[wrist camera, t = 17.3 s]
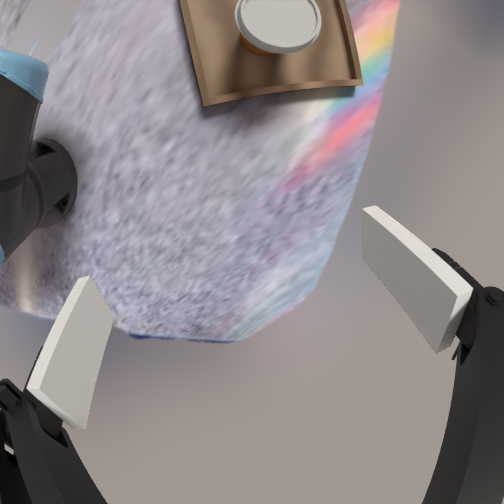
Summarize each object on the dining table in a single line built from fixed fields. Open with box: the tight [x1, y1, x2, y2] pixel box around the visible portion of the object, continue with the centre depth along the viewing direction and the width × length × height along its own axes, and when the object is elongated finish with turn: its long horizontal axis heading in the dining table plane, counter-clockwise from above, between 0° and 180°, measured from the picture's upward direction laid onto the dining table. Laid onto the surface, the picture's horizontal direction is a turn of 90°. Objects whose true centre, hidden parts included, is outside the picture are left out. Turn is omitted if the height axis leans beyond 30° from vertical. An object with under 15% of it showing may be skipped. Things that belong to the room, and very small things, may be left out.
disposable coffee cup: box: [235, 0, 321, 56], centre depth 26 cm, size 10×10×12 cm
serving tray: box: [180, 0, 363, 107], centre depth 30 cm, size 24×20×2 cm
